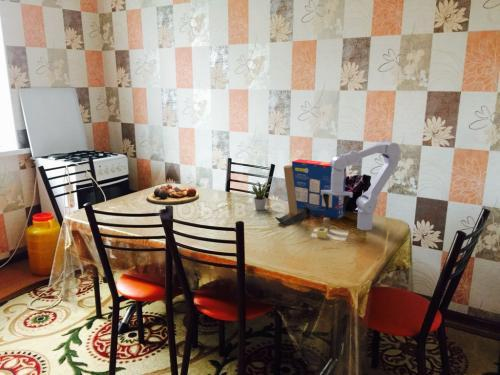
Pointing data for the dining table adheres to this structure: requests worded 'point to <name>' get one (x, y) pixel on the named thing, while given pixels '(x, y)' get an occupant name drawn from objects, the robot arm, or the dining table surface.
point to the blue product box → (316, 188)
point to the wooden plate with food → (172, 195)
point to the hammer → (292, 200)
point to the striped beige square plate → (332, 234)
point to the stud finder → (322, 232)
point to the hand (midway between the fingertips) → (335, 210)
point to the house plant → (260, 196)
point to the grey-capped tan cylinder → (326, 223)
